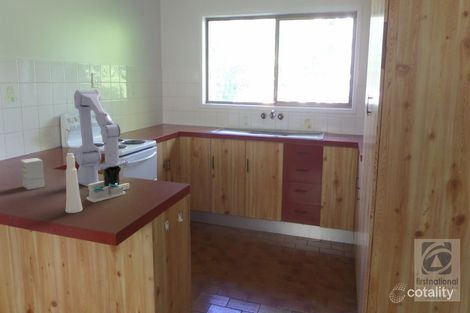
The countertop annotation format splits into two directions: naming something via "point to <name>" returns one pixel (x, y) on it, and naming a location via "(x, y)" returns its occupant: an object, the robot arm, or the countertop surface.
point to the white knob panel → (105, 191)
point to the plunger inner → (113, 185)
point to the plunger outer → (98, 188)
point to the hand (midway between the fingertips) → (113, 183)
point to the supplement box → (32, 173)
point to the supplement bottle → (106, 179)
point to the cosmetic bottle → (72, 186)
